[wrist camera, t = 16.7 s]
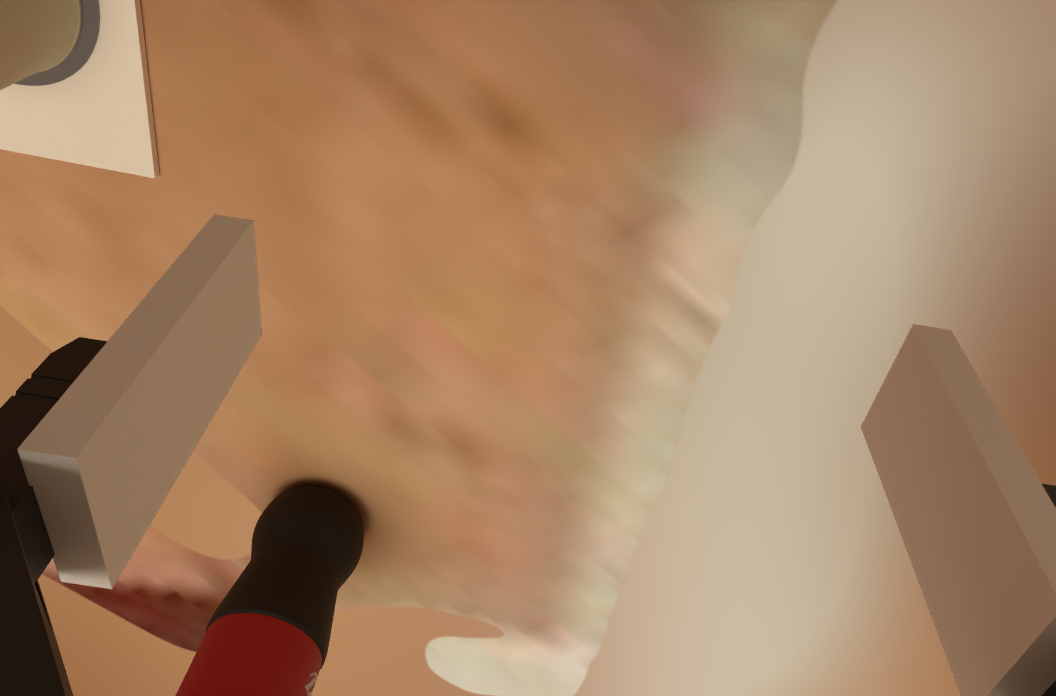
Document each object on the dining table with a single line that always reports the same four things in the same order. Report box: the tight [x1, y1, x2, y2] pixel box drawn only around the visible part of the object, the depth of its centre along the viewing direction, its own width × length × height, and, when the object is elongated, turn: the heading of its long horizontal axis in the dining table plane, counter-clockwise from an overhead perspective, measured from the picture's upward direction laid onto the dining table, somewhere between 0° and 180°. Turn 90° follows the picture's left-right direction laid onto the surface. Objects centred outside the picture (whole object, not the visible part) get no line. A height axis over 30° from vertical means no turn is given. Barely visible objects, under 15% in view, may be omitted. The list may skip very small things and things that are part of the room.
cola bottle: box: [176, 485, 364, 696], centre depth 55 cm, size 8×8×30 cm
